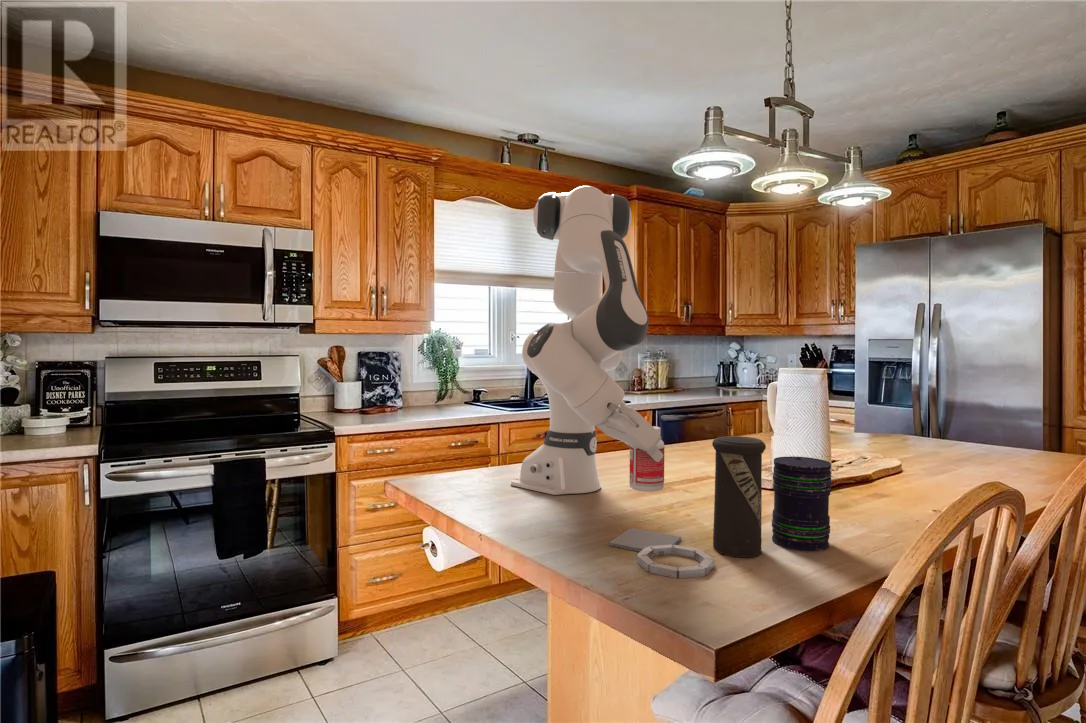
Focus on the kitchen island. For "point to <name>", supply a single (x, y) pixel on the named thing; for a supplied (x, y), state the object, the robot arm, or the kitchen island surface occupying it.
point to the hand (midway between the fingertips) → (650, 454)
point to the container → (738, 495)
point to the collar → (671, 571)
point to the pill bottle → (646, 469)
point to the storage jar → (801, 503)
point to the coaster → (643, 540)
